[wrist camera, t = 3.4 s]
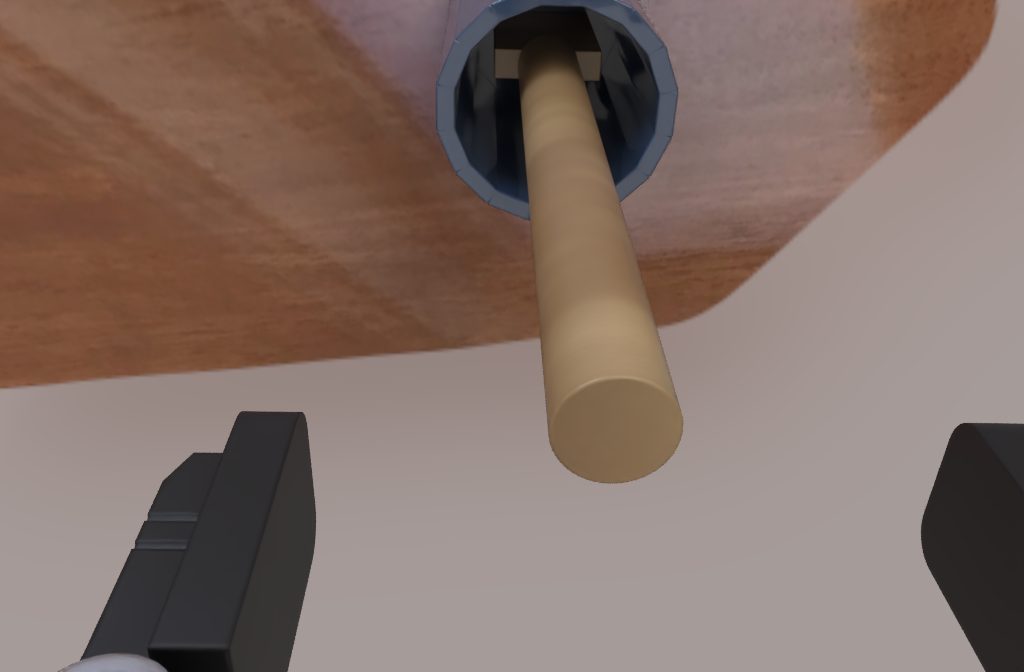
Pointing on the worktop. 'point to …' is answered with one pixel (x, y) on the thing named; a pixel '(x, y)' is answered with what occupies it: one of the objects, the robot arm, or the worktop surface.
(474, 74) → the crock
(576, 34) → the wooden stirring stick
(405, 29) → the worktop surface
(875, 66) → the worktop surface
